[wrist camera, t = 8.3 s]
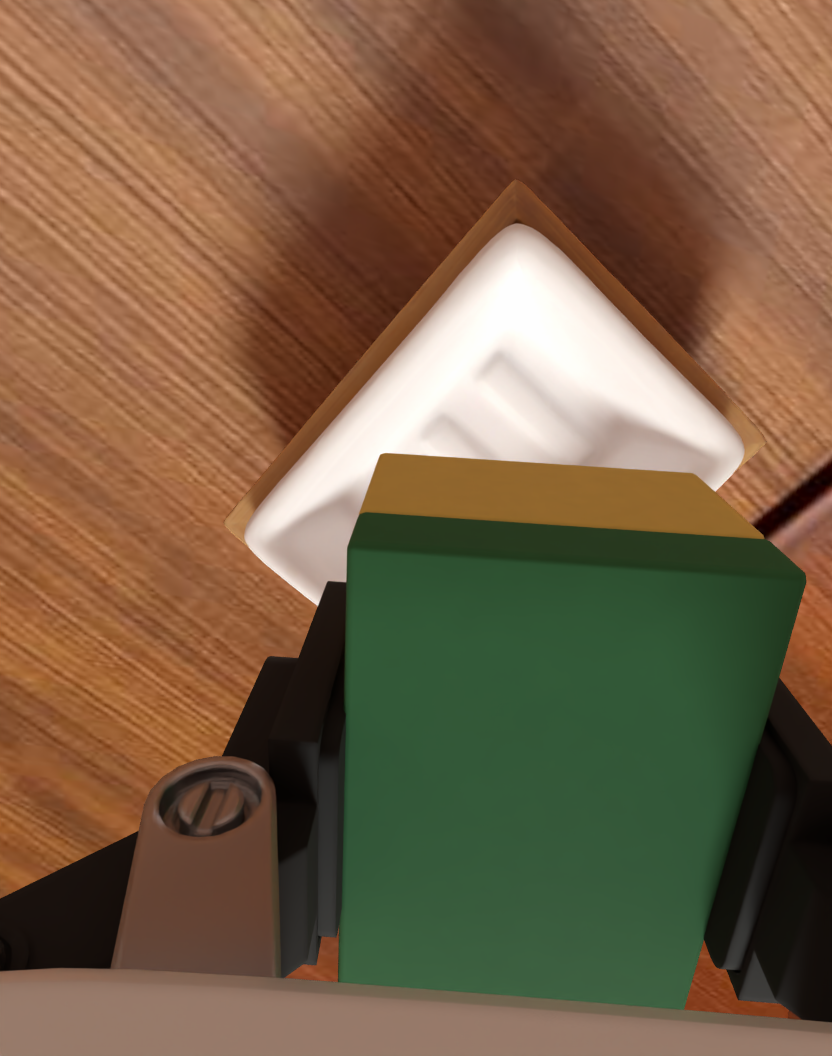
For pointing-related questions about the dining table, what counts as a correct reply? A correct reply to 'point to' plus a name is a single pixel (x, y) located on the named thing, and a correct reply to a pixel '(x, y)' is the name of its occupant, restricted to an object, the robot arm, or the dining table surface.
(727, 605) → the scrub sponge
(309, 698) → the robot arm
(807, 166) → the dining table surface
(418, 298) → the soap dish
